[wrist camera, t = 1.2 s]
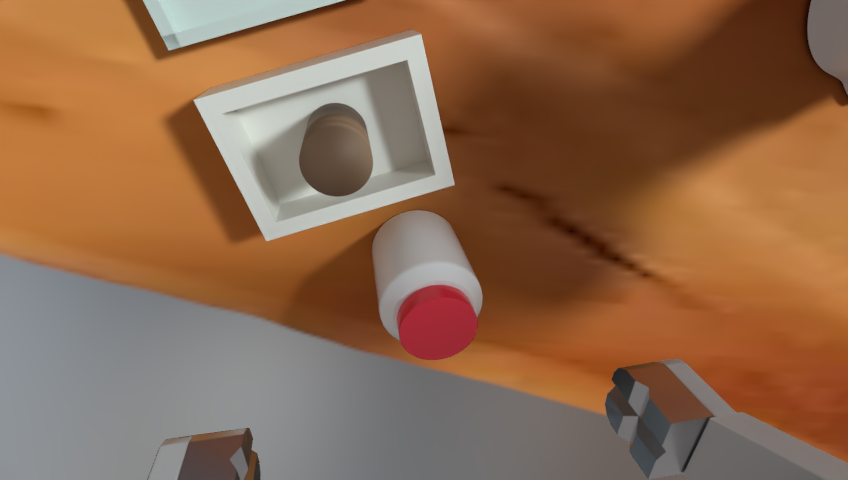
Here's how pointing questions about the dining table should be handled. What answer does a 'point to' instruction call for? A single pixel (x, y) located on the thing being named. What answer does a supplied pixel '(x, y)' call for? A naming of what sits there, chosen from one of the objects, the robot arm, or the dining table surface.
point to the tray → (219, 16)
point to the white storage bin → (287, 120)
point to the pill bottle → (425, 285)
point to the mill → (336, 151)
